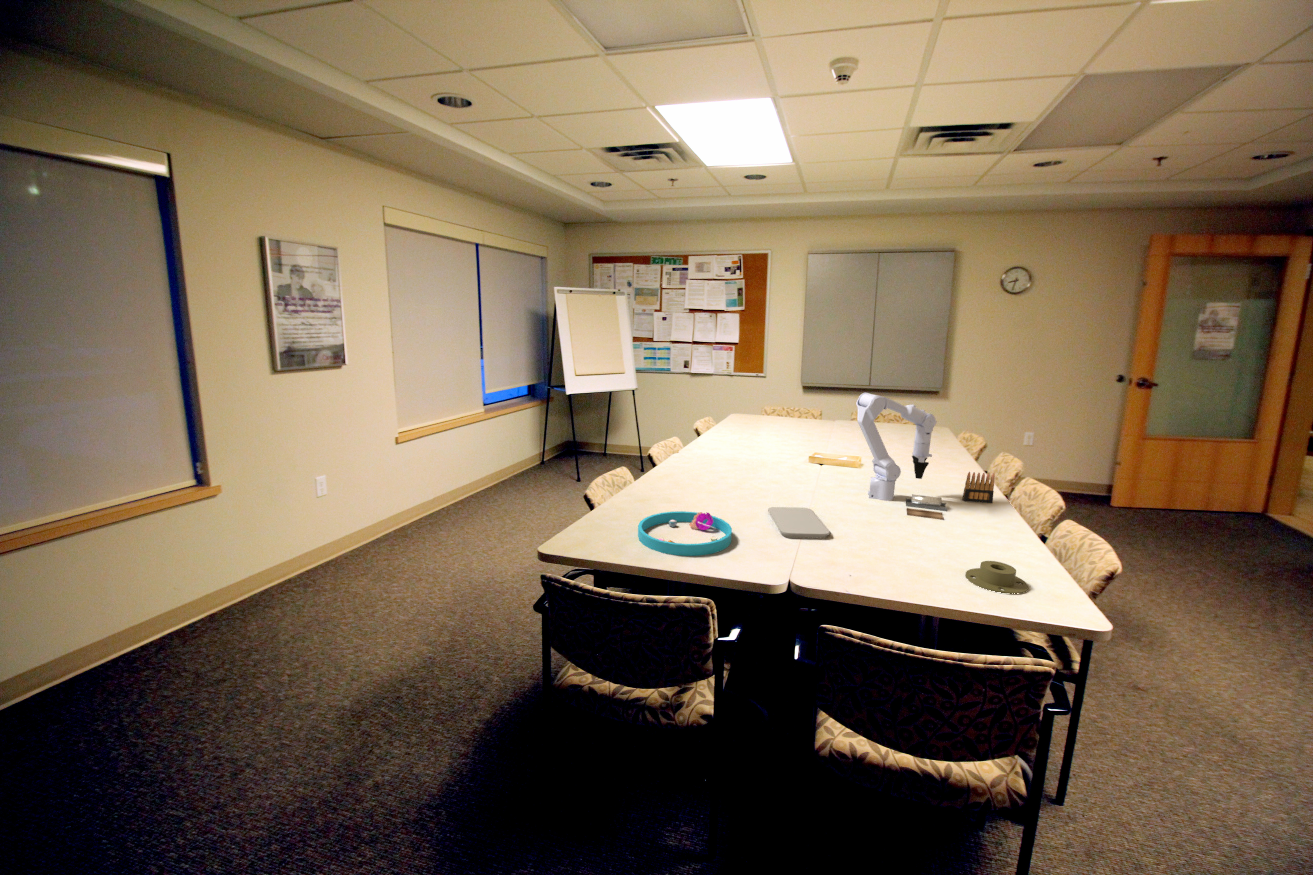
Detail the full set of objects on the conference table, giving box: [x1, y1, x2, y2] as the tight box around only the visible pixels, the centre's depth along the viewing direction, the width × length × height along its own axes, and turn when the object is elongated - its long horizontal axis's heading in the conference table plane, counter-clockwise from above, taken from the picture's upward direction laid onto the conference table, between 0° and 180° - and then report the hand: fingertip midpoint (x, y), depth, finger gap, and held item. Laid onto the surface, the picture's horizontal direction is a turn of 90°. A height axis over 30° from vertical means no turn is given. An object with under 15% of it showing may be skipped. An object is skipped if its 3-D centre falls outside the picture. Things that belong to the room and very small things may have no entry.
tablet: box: [767, 506, 830, 540], centre depth 198 cm, size 16×26×2 cm, turn 0°
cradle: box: [905, 497, 948, 512], centre depth 219 cm, size 14×7×2 cm, turn 69°
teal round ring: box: [637, 510, 733, 557], centre depth 184 cm, size 30×30×6 cm
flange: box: [965, 560, 1029, 595], centre depth 158 cm, size 5×15×15 cm
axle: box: [910, 494, 942, 507], centre depth 218 cm, size 10×4×4 cm, turn 69°
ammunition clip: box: [961, 471, 995, 504], centre depth 228 cm, size 11×2×12 cm, turn 80°
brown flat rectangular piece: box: [905, 507, 945, 521], centre depth 209 cm, size 12×7×2 cm, turn 69°
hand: (918, 476), depth 229 cm, fingers open, 7 cm apart
